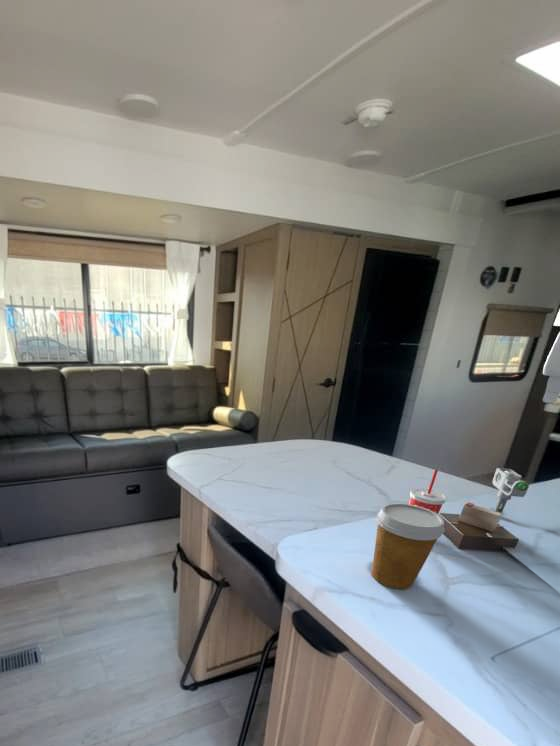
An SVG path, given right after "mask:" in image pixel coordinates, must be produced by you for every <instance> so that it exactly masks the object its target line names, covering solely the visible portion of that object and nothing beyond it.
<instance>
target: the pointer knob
mask: <svg viewBox="0 0 560 746" xmlns="http://www.w3.org/2000/svg"><path fill="white" fill-rule="evenodd" d="M460 514H461V515H460V517H459V520H458V521H461V522H464V523H467V524H470V525H473V526H476V527H479V528H482V529H485V530H488V531H491V532H493V531H494V530H495V529H496V527H497V525H498V524H499V523H500V520H501V517H502V515H503V512H502V513H499V512H496V511H494V510H493V509H489V508H485V507H483V506H479V505H476V504H475V503H472V502H466V503H465V504H463V507H462V509H461V512H460Z"/></svg>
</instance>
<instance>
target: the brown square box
mask: <svg viewBox="0 0 560 746" xmlns="http://www.w3.org/2000/svg"><path fill="white" fill-rule="evenodd" d="M438 515H439V516H441V517H442V518H443V521H444V528H445V532H444V533H443V534H442V535H444V536H445V537H446V538H447V539H448V540H449V541H450V542H451V543H452V545H454V546H455V547H456V548H457V549H459V550H470V551H485V552H495V553H497V552H498V553H509V551H508V550H507V549H516V548H517V545H518V543H519V541H520V539H519V538H518V537H517V536H515V535H514V534H513V533H511V532H510V531H509V530H507V529H506V528H505V526H504V525H501V524H499V523H498V525H497V527H496V529H495V530H494V531H493V532H491V531H488V530H485V529H482V528H479V527H476V526H473V525H470V524H467V523H464V522H461V521H458V520H459V517H460V515H461V513H448V512H446V513H445V512H439V514H438ZM506 548H507V549H506Z"/></svg>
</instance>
